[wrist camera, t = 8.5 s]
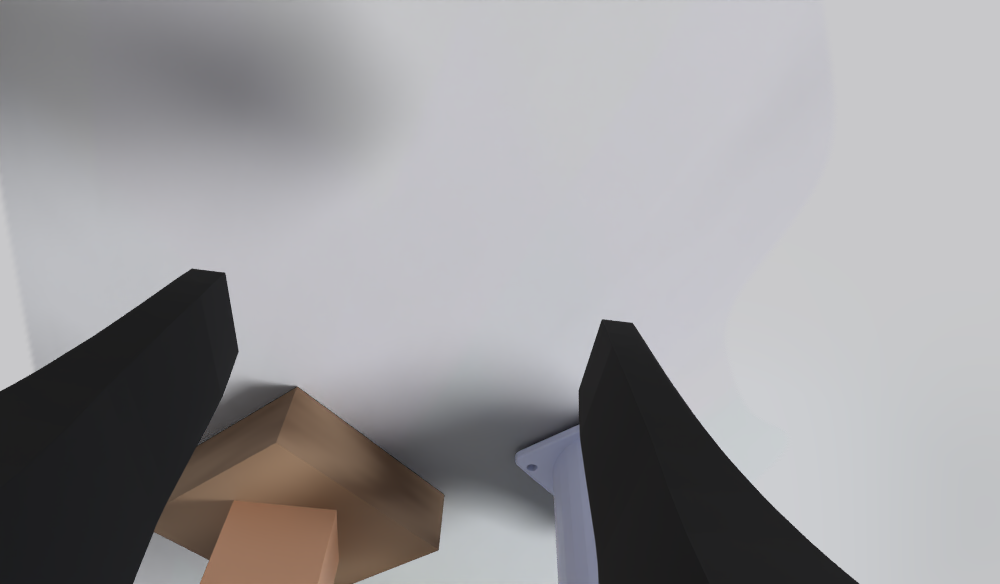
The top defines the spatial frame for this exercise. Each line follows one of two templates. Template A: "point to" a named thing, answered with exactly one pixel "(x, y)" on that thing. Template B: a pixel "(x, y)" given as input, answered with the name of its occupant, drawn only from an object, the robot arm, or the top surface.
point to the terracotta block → (275, 546)
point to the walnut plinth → (307, 486)
